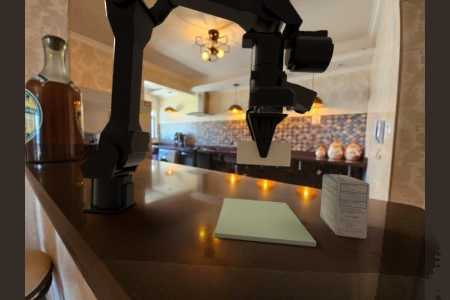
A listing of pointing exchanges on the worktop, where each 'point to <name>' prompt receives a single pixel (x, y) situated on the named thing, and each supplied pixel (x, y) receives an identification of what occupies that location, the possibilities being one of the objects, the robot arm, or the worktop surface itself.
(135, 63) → the robot arm
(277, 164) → the block
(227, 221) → the mat
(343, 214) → the medicine box
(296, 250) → the worktop surface
